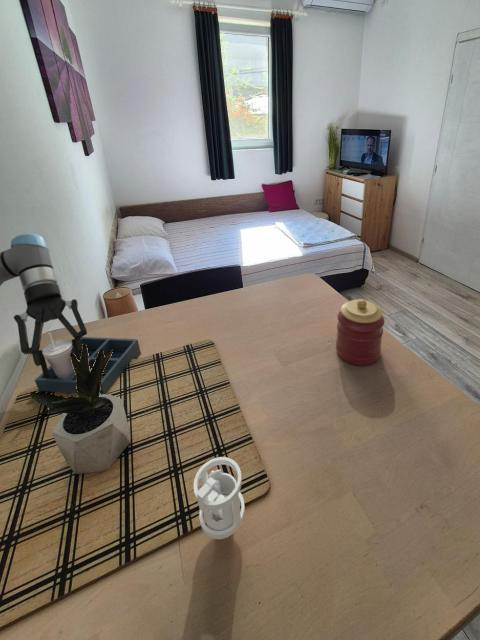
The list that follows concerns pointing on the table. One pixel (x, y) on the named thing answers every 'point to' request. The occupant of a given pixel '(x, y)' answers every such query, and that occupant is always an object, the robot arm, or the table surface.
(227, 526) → the white cylindrical holder
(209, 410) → the table surface
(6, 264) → the robot arm
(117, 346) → the divided tray
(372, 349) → the kitchen canister
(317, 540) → the table surface
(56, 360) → the smoothie
